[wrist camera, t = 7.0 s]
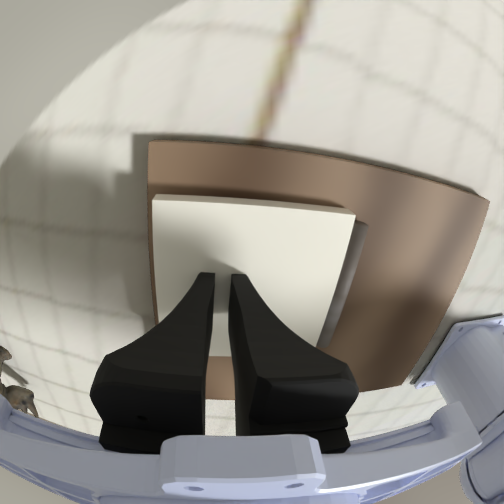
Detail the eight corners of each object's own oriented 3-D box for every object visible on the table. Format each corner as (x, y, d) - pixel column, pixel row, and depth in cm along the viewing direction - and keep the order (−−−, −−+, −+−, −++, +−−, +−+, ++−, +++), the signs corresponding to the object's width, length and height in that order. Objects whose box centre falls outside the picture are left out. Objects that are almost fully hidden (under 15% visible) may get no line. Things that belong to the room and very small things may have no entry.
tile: (152, 200, 10) (156, 193, 11) (162, 353, 14) (164, 341, 14) (355, 215, 11) (347, 207, 12) (312, 354, 15) (308, 342, 16)
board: (479, 195, 13) (500, 207, 11) (396, 376, 20) (405, 393, 19) (154, 139, 11) (141, 145, 9) (168, 384, 18) (165, 407, 16)
